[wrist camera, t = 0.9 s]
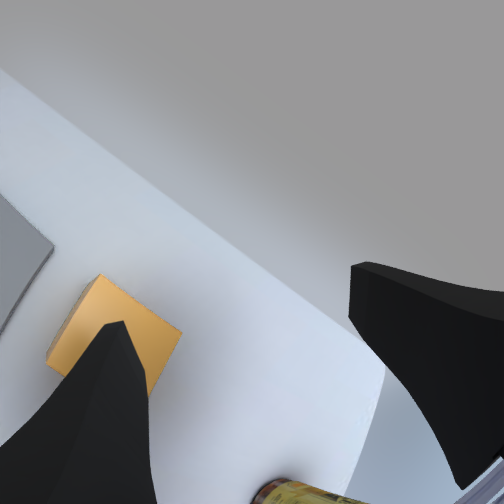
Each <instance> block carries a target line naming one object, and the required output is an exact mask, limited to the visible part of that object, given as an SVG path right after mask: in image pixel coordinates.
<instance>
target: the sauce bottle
mask: <svg viewBox="0 0 504 504" xmlns="http://www.w3.org/2000/svg"><path fill="white" fill-rule="evenodd" d="M253 504H368V503H364V502H361V501H357V500H354V499H350V498H346V497H343V496H340V495H337V494H333V493H330V492H327V491H324V490H321V489H318V488H315V487H312V486H310V485H307V484H304V483H301V482H299V481H292V480H287V479H278V480H276V481H273V482H272V483H270V484H269V485H267V486H265V487H264V488H263V489H262V490H261V491H260V492H259V493H258V495H257V496H256V498H255V500H254V501H253Z"/></svg>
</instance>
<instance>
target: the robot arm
mask: <svg viewBox="0 0 504 504" xmlns="http://www.w3.org/2000/svg"><path fill="white" fill-rule="evenodd" d="M348 317H349V319H350V320H351V322H352V323H353V325H354V326H355V328H356V330H357V331H358V333H359V334H360V336H361V337H362V338H363V340H364V341H365V342H366V343H367V345H368V346H369V347H370V348H371V349H372V350H373V351H374V352H375V354H376V355H377V356H378V357H379V358H380V359H381V360H382V361H383V363H384V364H385V365H386V366H387V367H388V368H389V369H390V370H391V371H392V373H393V374H394V375H395V376H396V377H397V378H398V379H399V381H401V383H402V384H403V385H404V387H405V388H406V389H407V390H408V392H409V393H410V395H411V396H412V398H413V399H414V401H415V402H416V404H417V405H418V407H419V408H420V410H421V411H422V413H423V415H424V417H425V418H426V420H427V422H428V423H429V425H430V427H431V428H432V430H433V432H434V434H435V436H436V438H437V440H438V442H439V444H440V446H441V448H442V450H443V452H444V454H445V456H446V459H447V461H448V464H449V466H450V468H451V471H452V473H453V476H454V479H455V482H456V483H457V485H458V486H459V487H460V489H461V490H464V489H465V488H466V487H468V486H469V485H470V484H471V483H472V482H474V481H475V480H476V479H477V478H478V477H479V476H480V475H482V474H483V473H484V472H485V471H486V470H487V469H488V468H489V467H490V466H491V465H492V464H493V463H494V462H495V461H496V460H497V459H498V458H499V457H500V456H501V457H502V458H503V460H502V462H500V463H499V464H498V465H497V466H496V467H495V468H494V469H493V470H492V471H491V472H490V473H489V474H488V475H487V476H486V477H485V478H484V479H483V480H481V481H480V482H479V483H478V484H477V485H476V486H475V487H474V488H472V489H471V490H470V491H469V492H468V493H466V494H465V495H464V496H463V497H462V498H460V499H459V500H458V501H456V502H455V503H454V504H486V503H487V502H488V501H489V500H490V499H491V498H492V497H493V496H494V495H495V494H497V493H498V492H499V491H500V489H502V488H503V486H504V292H500V291H489V290H483V289H477V288H471V287H465V286H460V285H456V284H452V283H447V282H443V281H439V280H436V279H432V278H428V277H425V276H421V275H418V274H414V273H411V272H407V271H404V270H400V269H397V268H393V267H390V266H386V265H382V264H377V263H373V262H363V263H359V264H356V265H352V266H351V280H350V302H349V316H348ZM0 504H157V501H156V496H155V491H154V486H153V481H152V476H151V468H150V455H149V414H148V392H147V383H146V375H145V370H144V367H143V365H142V363H141V361H140V359H139V356H138V354H137V352H136V349H135V347H134V345H133V342H132V340H131V338H130V335H129V333H128V330H127V328H126V325H125V323H124V320H122V321H117V322H112V323H107V324H104V326H103V327H102V328H101V329H100V330H99V332H98V333H97V334H96V336H95V337H94V339H93V340H92V341H91V343H90V344H89V345H88V347H87V348H86V350H85V351H84V352H83V354H82V355H81V357H80V358H79V359H78V361H77V362H76V363H75V365H74V366H73V368H72V369H71V370H70V372H69V373H68V374H67V375H66V377H65V378H64V379H63V381H62V382H61V383H60V384H59V386H58V387H57V388H56V390H55V391H54V392H53V394H52V395H51V396H50V397H49V398H48V400H47V401H46V402H45V403H44V404H43V405H42V406H41V408H40V409H39V410H38V411H37V412H36V413H35V414H34V415H33V416H32V417H31V418H30V419H29V421H28V422H27V423H26V424H24V425H23V426H22V427H21V428H20V429H19V430H18V431H17V432H16V433H15V434H14V435H13V436H12V437H11V438H10V439H9V440H7V441H6V442H5V443H4V444H3V445H2V446H1V447H0ZM491 504H504V493H503V494H502V495H501V496H500V497H498V498H497V499H496V500H495V501H494V502H492V503H491Z"/></svg>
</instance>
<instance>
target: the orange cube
mask: <svg viewBox="0 0 504 504" xmlns="http://www.w3.org/2000/svg"><path fill="white" fill-rule="evenodd" d="M122 320H124V323H125V325H126V328H127V330H128V333H129V335H130V338H131V340H132V342H133V345H134V347H135V349H136V352H137V354H138V356H139V359H140V361H141V363H142V365H143V367H144V370H145V375H146V383H147V392H148V397H149V395H150V393H151V391H152V389H153V387H154V385H155V384H156V382H157V380H158V378H159V376H160V374H161V372H162V370H163V368H164V367H165V365H166V363H167V361H168V359H169V357H170V355H171V353H172V352H173V350H174V348H175V346H176V344H177V342H178V340H179V339H180V337H181V335H182V332H181V331H179V330H178V329H176V328H175V327H173V326H172V325H170V324H169V323H167V322H166V321H164V320H163V319H161V318H160V317H159V316H157V315H156V314H154V313H153V312H151V311H150V310H149V309H147V308H146V307H144V306H143V305H142V304H140V303H139V302H138V301H136V300H135V299H133V298H132V297H131V296H129V295H128V294H127V293H125V292H124V291H123V290H121V289H120V288H119V287H117V286H116V285H115V284H114V283H112V282H111V281H110V280H108V279H107V278H106V277H105V276H103V275H102V274H99V275H98V276H97V277H96V278H95V279H94V280H92V281H91V282H90V283H89V284H88V285H87V287H86V288H85V290H84V291H83V293H82V295H81V296H80V298H79V299H78V301H77V302H76V304H75V306H74V307H73V309H72V310H71V312H70V314H69V315H68V317H67V319H66V320H65V322H64V324H63V325H62V327H61V329H60V330H59V332H58V334H57V335H56V337H55V339H54V341H53V342H52V344H51V346H50V348H49V349H48V351H47V354H46V364H47V365H48V366H50V367H51V368H53V369H54V370H55V371H57V372H58V373H60V374H61V375H63V376H64V377H66V375H67V374H68V373H69V372H70V370H71V369H72V368H73V366H74V365H75V363H76V362H77V361H78V359H79V358H80V357H81V355H82V354H83V352H84V351H85V350H86V348H87V347H88V345H89V344H90V343H91V341H92V340H93V339H94V337H95V336H96V334H97V333H98V332H99V330H100V329H101V328H102V327H103V326H104V324H107V323H112V322H117V321H122Z"/></svg>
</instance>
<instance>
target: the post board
mask: <svg viewBox="0 0 504 504" xmlns="http://www.w3.org/2000/svg"><path fill="white" fill-rule="evenodd" d="M53 251H54V245H53V244H52V243H51V242H50V241H49V240H48V239H47V238H45V237H44V236H43V235H42V234H41V233H40V232H39V231H38V230H37V229H36V228H34V227H33V226H32V225H31V224H30V223H29V222H28V221H27V220H26V219H25V218H24V217H23V216H22V215H21V214H20V213H19V212H18V211H17V210H16V209H15V208H14V207H13V206H12V205H11V204H10V203H9V202H8V201H7V200H6V199H5V198H4V197H3V196H2V195H1V194H0V334H1V332H2V331H3V329H4V327H5V325H6V323H7V322H8V320H9V318H10V316H11V315H12V313H13V311H14V310H15V308H16V306H17V305H18V303H19V301H20V300H21V298H22V297H23V295H24V293H25V292H26V290H27V289H28V287H29V286H30V284H31V283H32V281H33V280H34V278H35V277H36V275H37V274H38V272H39V271H40V269H41V268H42V266H43V265H44V263H45V262H46V261H47V259H48V258H49V256H50V255H51V254H52V252H53Z"/></svg>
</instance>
